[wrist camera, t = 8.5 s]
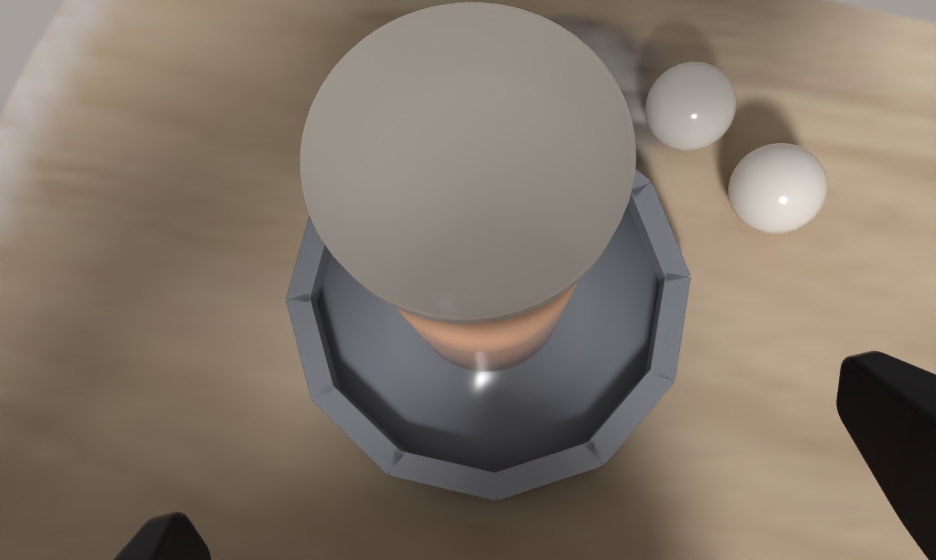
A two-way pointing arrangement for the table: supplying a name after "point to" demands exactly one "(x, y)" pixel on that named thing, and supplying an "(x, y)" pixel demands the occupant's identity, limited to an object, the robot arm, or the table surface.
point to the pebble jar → (470, 173)
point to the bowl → (505, 391)
